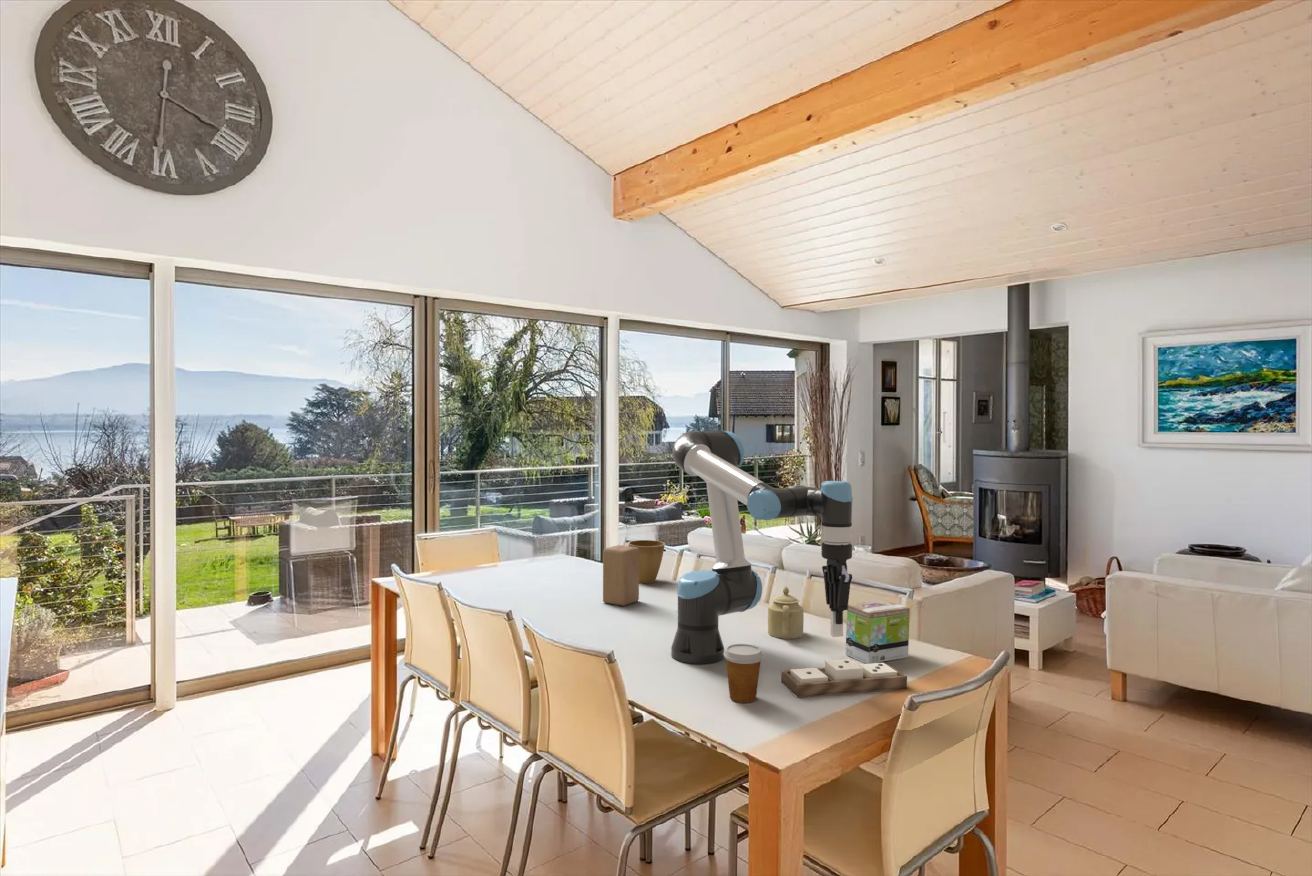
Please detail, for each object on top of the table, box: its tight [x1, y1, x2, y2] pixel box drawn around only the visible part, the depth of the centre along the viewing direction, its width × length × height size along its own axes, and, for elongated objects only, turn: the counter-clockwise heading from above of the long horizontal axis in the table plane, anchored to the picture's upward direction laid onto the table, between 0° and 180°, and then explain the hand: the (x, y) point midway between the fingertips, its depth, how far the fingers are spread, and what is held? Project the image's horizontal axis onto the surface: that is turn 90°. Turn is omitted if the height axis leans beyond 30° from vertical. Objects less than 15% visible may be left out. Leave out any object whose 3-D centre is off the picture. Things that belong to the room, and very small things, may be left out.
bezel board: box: [780, 662, 908, 698], centre depth 189 cm, size 30×10×3 cm, turn 103°
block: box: [602, 544, 640, 607], centre depth 272 cm, size 10×10×20 cm
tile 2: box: [824, 658, 863, 681], centre depth 189 cm, size 7×7×3 cm
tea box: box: [845, 599, 911, 664], centre depth 212 cm, size 15×10×15 cm, turn 117°
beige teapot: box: [767, 586, 805, 640], centre depth 232 cm, size 15×11×15 cm
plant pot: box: [628, 539, 666, 584], centre depth 306 cm, size 15×15×16 cm
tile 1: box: [789, 667, 828, 683], centre depth 187 cm, size 7×7×3 cm
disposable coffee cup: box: [724, 643, 764, 704], centre depth 180 cm, size 10×10×12 cm
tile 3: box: [858, 662, 898, 678], centre depth 191 cm, size 7×7×3 cm
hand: (836, 635), depth 188 cm, fingers closed
